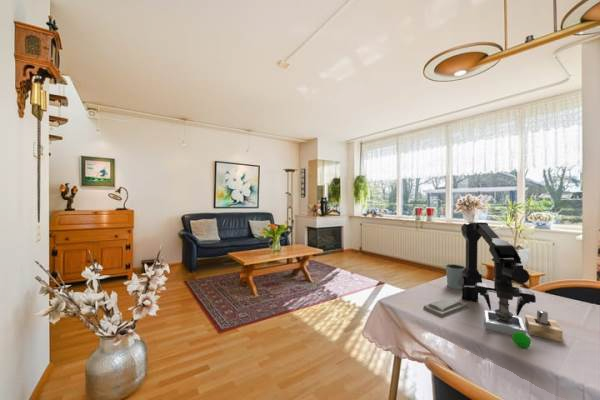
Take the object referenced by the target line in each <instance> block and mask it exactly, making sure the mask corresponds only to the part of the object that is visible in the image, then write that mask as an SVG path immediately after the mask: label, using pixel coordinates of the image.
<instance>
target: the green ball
mask: <svg viewBox="0 0 600 400" xmlns="http://www.w3.org/2000/svg"><path fill="white" fill-rule="evenodd" d="M512 342H513V343H514V344H515V345H516V346H518V347H519V348H522V349H527V348H530V346H531V343H532V339H531V338H530V337H529V336H528V335H527V333H526V334H524V333H522V332H516V333H514V334H513V335H512Z"/></svg>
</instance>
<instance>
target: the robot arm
mask: <svg viewBox="0 0 600 400" xmlns="http://www.w3.org/2000/svg"><path fill="white" fill-rule="evenodd" d="M460 230H461V233H462V236H463V238H464V240H465V267H466V268H465V269H464V270H463V271H462V276H461V277H460V279H459V280H458V284H459V286H461V287H462V289H461V300H463V301H464V300H465V301H470V302H475V303H477V302H478V300H479V295H480V296H482V297H483V298H484V300H485V301H486V305H487V307H488V309H489V310H488V311H492V307H491V306H492V305H491V299H490V295H489V293H495V294H496V297H497V298H498V299H499V298H504V299H508V301H513V299H514V298H517V301H516V311H515V313H516V317H519V315H520V313H521V311H522V308H523V307H524V306H525V305H527V304H530V303H533V304H534V303H536V302H537V299H536V295H535V293H534V292H533V291H532V290H528V289H521V288H520V287H517V286H514V285H513V282H515V283H517V284H521V285H522V284H526V283H527V282H528V281H529V280H530V276H531V275H530V274H529V273H530V272H528V270H526V269H525V268H524V265H523V263H522V258H521V257H520V255H519V254H518V251H517V250H516V248H515V246H514V245H513V244H511V243H510V242H508V241H506V240H503V239H502V238H500V237H499V235H498V234H497V233H496V232H495V231H494V230H492V228H491V227H490V226H489V223H488V222H486V221H474V222H470V223H469V222H468V223H465V222H464V223H463V225H461V228H460ZM481 238H482V239H483V240H484V241H485V242H486V243H487V244H488V247H489V248H488V251H489V253H490V255H491V256H492V257H493V258H491V261H492V262H494V263H493V268H494V269H493V270H494V271H493V274H494V275H493V276H494V278H493V281H494V284H493V285H494V286H493V287H491V286H487V285H488V284H487V283H484V282H483V278H482V277H483V276H482V275H483V274H481V273H480V272H479V270H478V242H479V240H480V239H481Z"/></svg>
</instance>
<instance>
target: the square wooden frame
mask: <svg viewBox="0 0 600 400" xmlns="http://www.w3.org/2000/svg"><path fill="white" fill-rule="evenodd" d="M524 317H525V318H524V319H525V321H524V322H525V323H524V324H525V328H526V329H527V330H526V331H527V333H528V334H529V335H531V336H535V337H540V338H543V339H549V340H552V341H553V340H554V341H557V342H561V343H562V342H563V329H562V328H561V327H560V324H559V323H558V321H557V320H555V319H549V318H548V325H543V324H538V323H537V316H534V315H529V314H525V316H524Z"/></svg>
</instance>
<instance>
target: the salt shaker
mask: <svg viewBox="0 0 600 400" xmlns="http://www.w3.org/2000/svg"><path fill="white" fill-rule="evenodd" d="M498 300H499V301H498V302H497V304H498V309H495V310H494V312H496V315H497V317H498V318H496V321H497V322H499V323H502V324H506V325H511V324H512V322H511V321H510V320H511V319H512V316H514V313H512V312H510V307H509V306H510V303H509V300H508V299H504V298H498Z"/></svg>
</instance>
